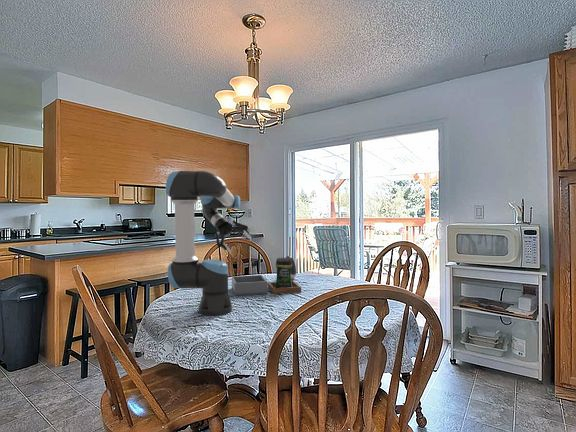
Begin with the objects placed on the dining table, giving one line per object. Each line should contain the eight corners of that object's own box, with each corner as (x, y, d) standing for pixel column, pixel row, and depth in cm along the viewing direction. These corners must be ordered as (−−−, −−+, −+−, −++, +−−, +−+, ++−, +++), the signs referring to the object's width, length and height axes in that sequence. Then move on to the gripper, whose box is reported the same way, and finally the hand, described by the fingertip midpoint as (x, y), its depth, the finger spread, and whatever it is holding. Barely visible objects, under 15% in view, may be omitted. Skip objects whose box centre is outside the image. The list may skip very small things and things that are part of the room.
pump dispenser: (278, 277, 229) (278, 255, 228) (292, 276, 233) (292, 254, 232) (284, 281, 219) (284, 257, 219) (299, 279, 224) (299, 256, 223)
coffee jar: (275, 291, 193) (274, 258, 192) (276, 288, 201) (276, 256, 200) (292, 291, 192) (291, 259, 192) (292, 288, 200) (292, 256, 200)
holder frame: (301, 292, 191) (301, 286, 191) (273, 294, 187) (273, 288, 187) (293, 285, 206) (293, 280, 206) (267, 287, 202) (267, 282, 202)
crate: (267, 294, 187) (267, 281, 187) (234, 296, 183) (234, 283, 182) (262, 286, 204) (261, 274, 204) (231, 288, 200) (231, 276, 200)
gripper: (238, 216, 204) (259, 237, 194) (202, 238, 194) (222, 261, 183) (237, 208, 199) (258, 229, 188) (199, 229, 189) (220, 253, 178)
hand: (241, 245), depth 186 cm, fingers open, 13 cm apart
